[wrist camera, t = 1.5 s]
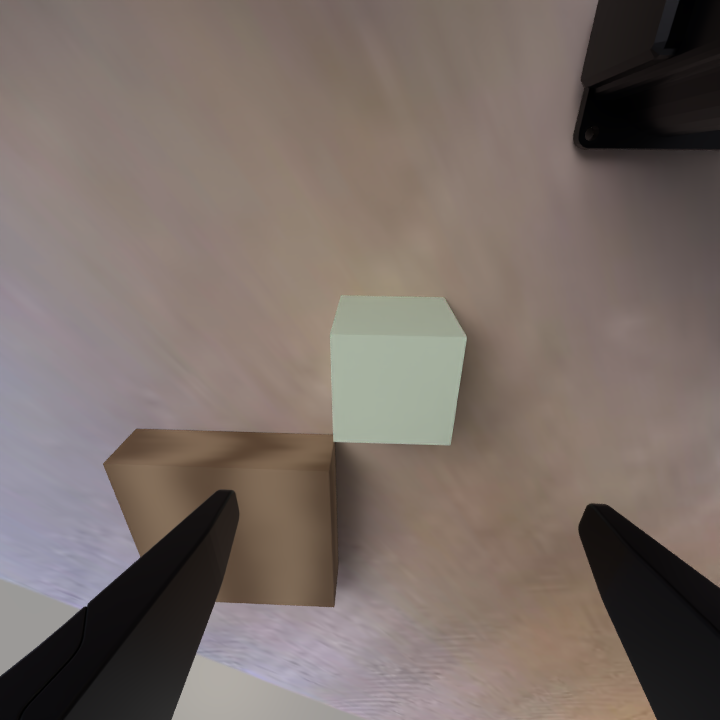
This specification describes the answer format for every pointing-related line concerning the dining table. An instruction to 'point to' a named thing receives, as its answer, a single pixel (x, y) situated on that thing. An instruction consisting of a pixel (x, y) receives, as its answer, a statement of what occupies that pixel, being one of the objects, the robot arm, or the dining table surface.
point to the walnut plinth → (240, 505)
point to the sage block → (395, 370)
